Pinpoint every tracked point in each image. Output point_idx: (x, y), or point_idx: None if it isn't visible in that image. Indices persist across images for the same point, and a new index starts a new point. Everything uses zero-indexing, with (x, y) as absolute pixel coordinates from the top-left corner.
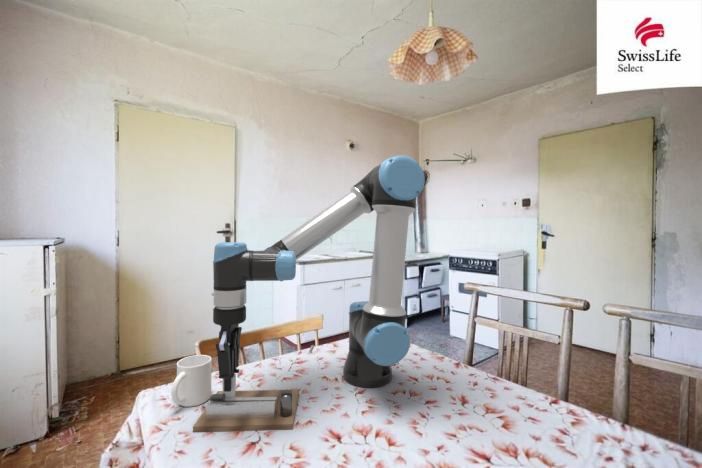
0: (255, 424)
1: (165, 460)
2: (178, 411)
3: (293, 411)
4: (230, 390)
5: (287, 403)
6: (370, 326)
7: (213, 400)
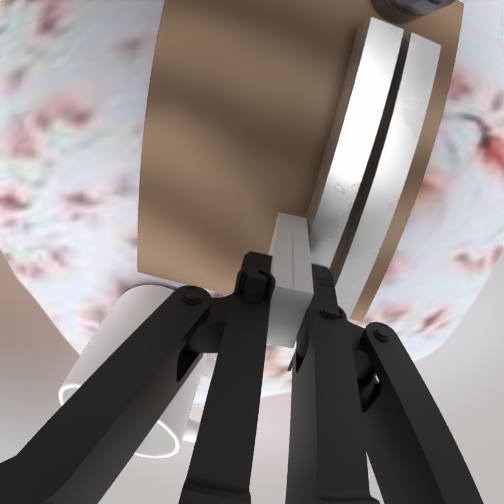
0: (435, 127)
1: (442, 340)
2: None
3: None
4: (320, 266)
5: None
6: None
7: None
